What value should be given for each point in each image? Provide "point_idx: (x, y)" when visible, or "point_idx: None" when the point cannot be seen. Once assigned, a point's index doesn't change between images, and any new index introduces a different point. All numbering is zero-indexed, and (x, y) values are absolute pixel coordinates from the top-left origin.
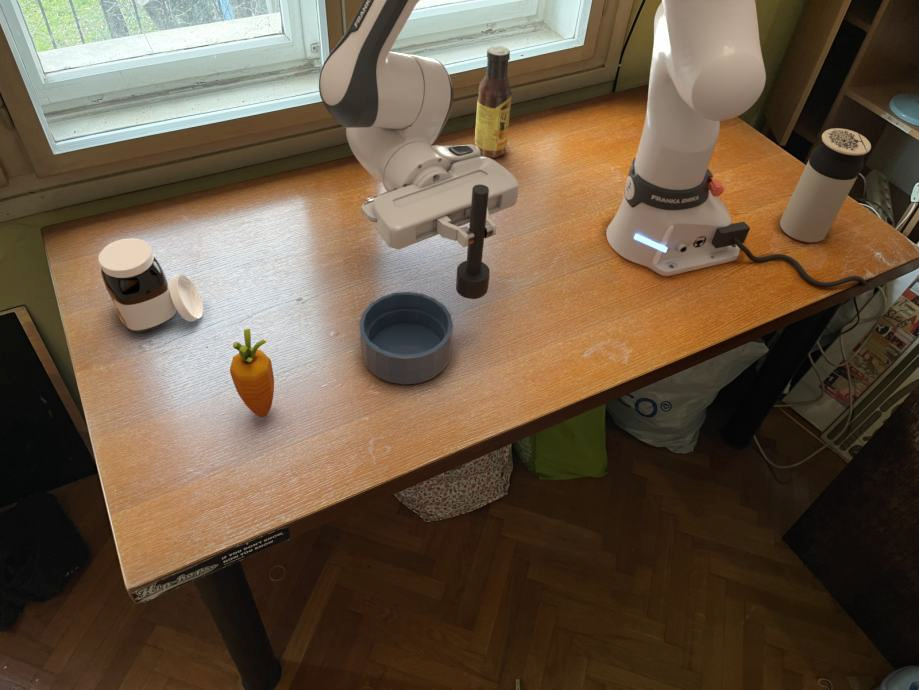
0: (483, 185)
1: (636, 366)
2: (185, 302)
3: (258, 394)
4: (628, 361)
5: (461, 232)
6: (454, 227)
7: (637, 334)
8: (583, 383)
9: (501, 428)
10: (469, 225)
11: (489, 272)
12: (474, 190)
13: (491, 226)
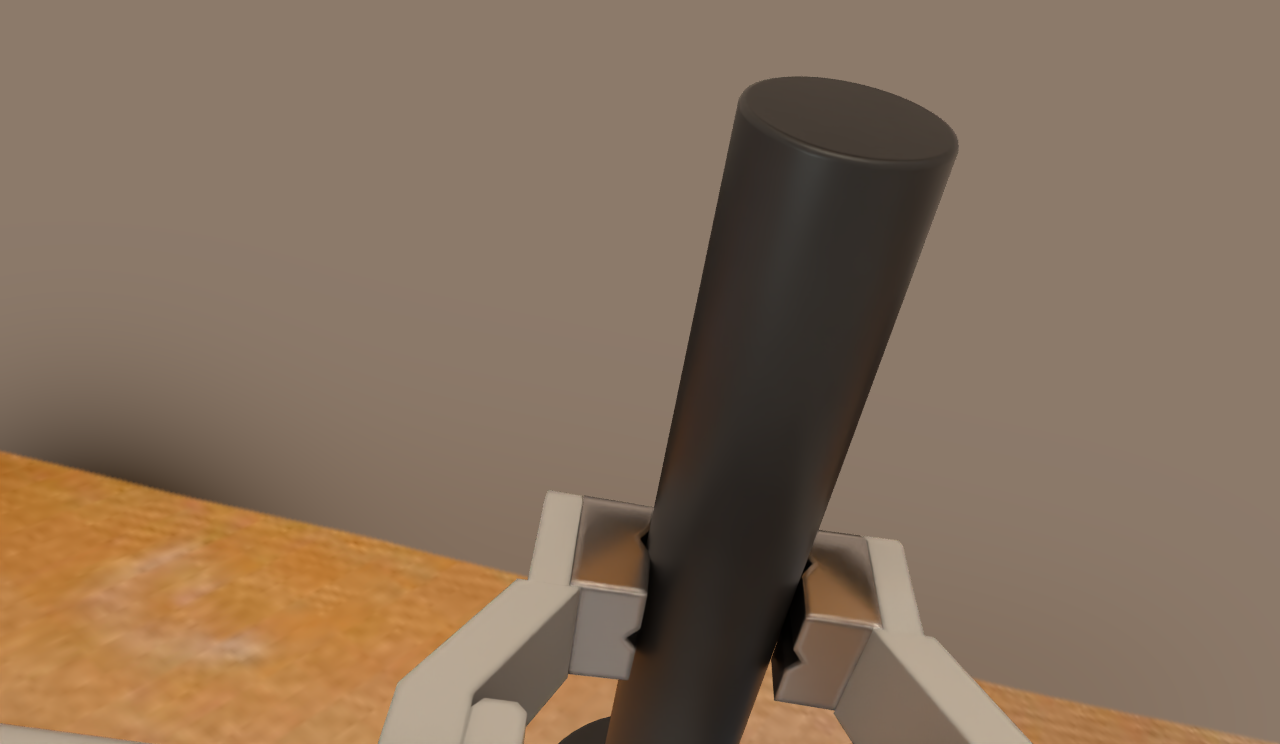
0: (775, 118)
1: (189, 516)
2: None
3: None
4: (181, 541)
5: (903, 584)
6: (943, 665)
7: (4, 589)
8: (388, 578)
9: None
10: (798, 577)
11: (564, 739)
12: (944, 131)
13: (594, 498)
